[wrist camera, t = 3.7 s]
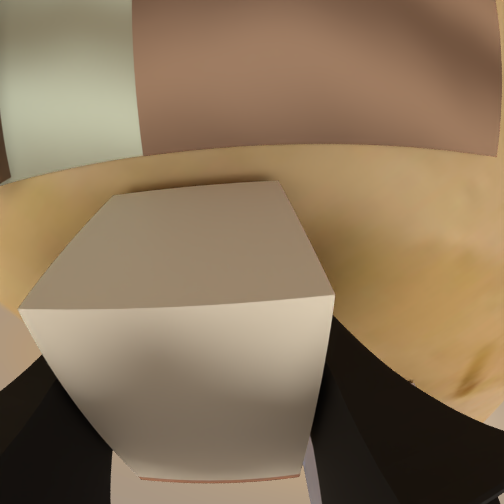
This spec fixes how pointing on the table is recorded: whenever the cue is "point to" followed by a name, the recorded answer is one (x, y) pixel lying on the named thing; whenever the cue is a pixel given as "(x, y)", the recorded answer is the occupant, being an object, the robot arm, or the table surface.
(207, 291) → the cream rectangular block
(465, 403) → the table surface
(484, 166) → the table surface
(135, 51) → the shelf
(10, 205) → the table surface
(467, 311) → the table surface
